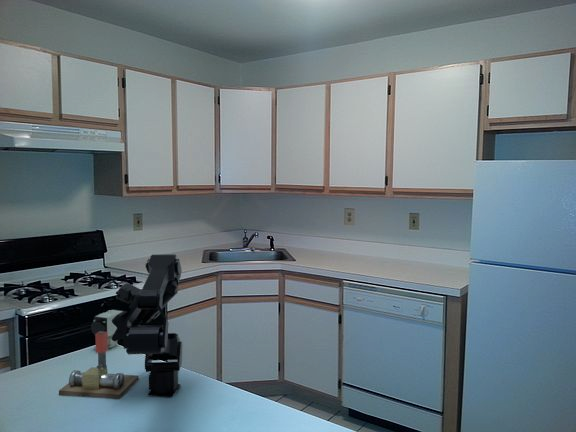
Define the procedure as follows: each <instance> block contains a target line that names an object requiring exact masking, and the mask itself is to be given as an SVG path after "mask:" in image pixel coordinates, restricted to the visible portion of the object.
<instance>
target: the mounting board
mask: <svg viewBox="0 0 576 432" xmlns="http://www.w3.org/2000/svg"><path fill="white" fill-rule="evenodd" d="M82 373H84V371H83V372H82ZM109 374H110V375H116V374H117V373H109ZM124 377H125V379H124V384H123V386H122V387H120V388H119V389H114V387H101V388H100V389H99V390H95V389H83V388H82V385H75V386H70V385H69V382H68V383H67V384H65V385H64V386H63V387H62V388H60V389H59V390H58V395H59V396H69V397H79V398H80V397H84V398H85V397H86V398H96V399H98V398H99V399H112V400H113V399H115V400H120V399H121V398H122V397H123V396H124V395H125V394H126V393H127V392H128V391H129V390H130V389H131V388H133V386H134V385H135V384H136V383H138V381H139V380H140V378H139V375H133V374H124Z"/></svg>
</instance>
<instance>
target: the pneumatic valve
mask: <svg viewBox="0 0 576 432" xmlns="http://www.w3.org/2000/svg"><path fill="white" fill-rule="evenodd" d="M123 311H124V310H122V309H121V310H120V309H119V310H118V309H111V310H110V309H109V310H107V311H106V312H102V313H99V314H97V315H95V316H93V322H92V324H91V326H90V327H91V332H92V334H93V336H94V337H95V334H96V333H98V332H100V331H102V332H108V349H112V348H114V347H116V346H118V341H119V340H117V341H113V340H112V339H111V338H112V336H113V335H114V333H115V331H116V329H117V327H116V326H115V325H114V324H113V323H112V319H113V318H114V317H115V316H116V315H118V314H119V313H121V312H123Z"/></svg>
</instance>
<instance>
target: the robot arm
mask: <svg viewBox="0 0 576 432" xmlns="http://www.w3.org/2000/svg"><path fill="white" fill-rule="evenodd" d="M145 269H146V272H147V273H148V276H147V278H146V280H145V282H144V284H143V286H142V288H141V289H140V288H138V287H137V286H135V285H133V284H131V283H124V284H123V285H121V286H120V287H119V288H118V290H117V291H116V292H115V294H116V296H115V298H116V300H119V301H121V302H123V303H125V304H128V305H129V306H128V308H129V309H130V312H129V311H128V310H122V311H123V312H121V313H119V314H118V315H116V316H115V317H114V318H113V319H112V323H113V324H114V325H115V326H116V327H117V329H116V331H115V333H114V334H112V335H113V336H112V338H111V339H112V340H113V341H117V340H118V341H120V340H122V348H123V349H124V350H125V352H126V353H127V354H128V355H144V356H145V357H144V370H145V373H149V374H148V390H149V392H147V396H148V397H160V398H162V397H163V398H173V396H174V395H175V394H176V392H177V391H178V390H179V389H180V388H181V384H180V383H179V372H180V371H181V367H182V365H183V341H182V340H180V337H179V333H178V334H177V333H176V332H170V333H169V321H168V319H167V317H166V315H165V313H164V311H163V308H165V307H166V305H167V304H168V303H169V302H170V301H171V300H172V299H173V298H174V297H175V296H176V295H177V294H178V292H179V282H180V281H181V280H180V279H181V277H182V272H183V271H182V266H181V262H180V258H177V254H151V255H150V257H149V258H148V259H147V261H146V263H145ZM160 314H161V316H162V319H163V324H155V325H154V324H152V325H150V323H151V322H152V320H155V319H156V318H157V317H158V316H160ZM148 324H149V325H148ZM118 341H117V342H118ZM154 361H155V362H154ZM156 361H157V362H156Z"/></svg>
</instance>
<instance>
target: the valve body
mask: <svg viewBox="0 0 576 432" xmlns="http://www.w3.org/2000/svg"><path fill="white" fill-rule="evenodd" d="M83 372H84V371H83ZM83 372H81V370H75V369H74V370H73V371H71V373H69V374H70V375H69V377H68V383H69V385H70V386H75V385H82V388H83V389H95V390H99V389H100V388H101V387H114V389H119V388H120V387H122V386H123V384H124V379H125V377H124V375H125V374H124V373H123V372H117V373H115V374H116V375H110V374H111V373H108V367H107V368H97V366H96V367H94V366H91V367H90V368H88V369H87V370H86V371H85V372H84V373H83Z"/></svg>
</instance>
